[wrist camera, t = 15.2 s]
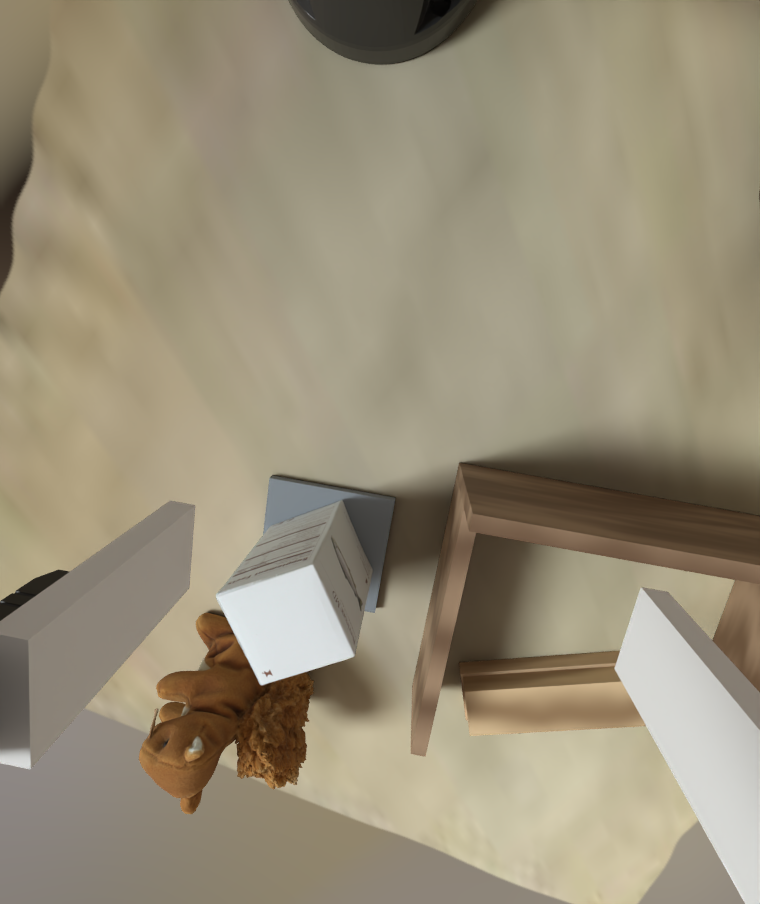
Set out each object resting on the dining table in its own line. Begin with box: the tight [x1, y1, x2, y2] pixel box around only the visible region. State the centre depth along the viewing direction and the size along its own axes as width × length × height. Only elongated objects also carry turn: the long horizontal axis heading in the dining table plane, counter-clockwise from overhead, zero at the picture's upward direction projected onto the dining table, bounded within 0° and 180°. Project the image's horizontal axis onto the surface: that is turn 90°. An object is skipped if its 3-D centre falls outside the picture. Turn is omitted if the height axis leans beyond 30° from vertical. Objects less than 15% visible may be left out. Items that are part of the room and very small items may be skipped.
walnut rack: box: [411, 463, 760, 756], centre depth 40 cm, size 23×26×12 cm
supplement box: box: [216, 500, 373, 685], centre depth 39 cm, size 7×7×13 cm
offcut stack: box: [459, 651, 646, 736], centre depth 46 cm, size 5×18×4 cm, turn 98°
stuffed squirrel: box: [139, 613, 314, 814], centre depth 44 cm, size 10×14×13 cm
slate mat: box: [263, 475, 395, 613], centre depth 46 cm, size 11×11×1 cm
